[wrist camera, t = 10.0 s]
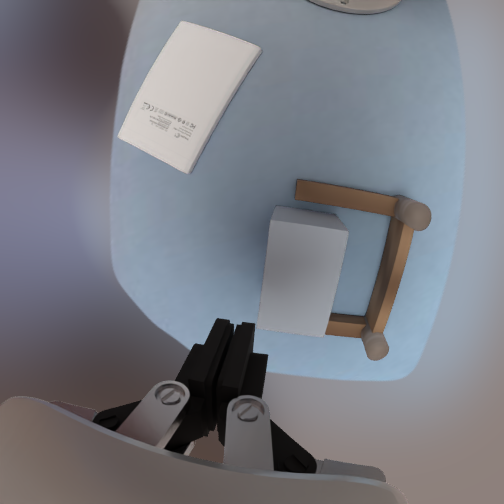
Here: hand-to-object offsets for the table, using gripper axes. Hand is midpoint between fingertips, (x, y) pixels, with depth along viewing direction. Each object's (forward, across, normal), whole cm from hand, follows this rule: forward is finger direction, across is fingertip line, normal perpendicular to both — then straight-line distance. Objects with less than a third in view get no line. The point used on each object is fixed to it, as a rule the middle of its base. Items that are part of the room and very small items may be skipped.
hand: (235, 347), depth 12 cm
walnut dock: (+13, -6, 0) cm, 15 cm away
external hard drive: (+14, +8, -14) cm, 21 cm away
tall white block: (+13, -3, 0) cm, 14 cm away
